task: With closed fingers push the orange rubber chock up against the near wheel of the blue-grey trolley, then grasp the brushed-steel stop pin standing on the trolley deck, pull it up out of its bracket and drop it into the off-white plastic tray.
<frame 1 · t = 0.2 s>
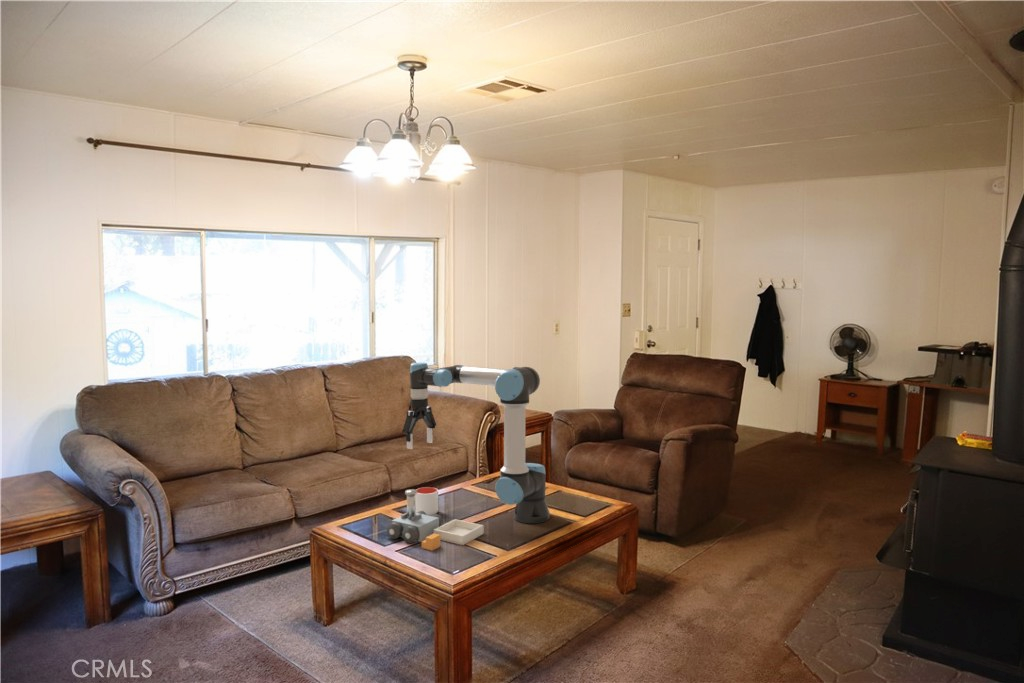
hand: (419, 445, 298), 28 cm above the table, fingers open, 13 cm apart
chock: (431, 547, 254), on the table
trolley: (415, 533, 268), on the table
pin: (411, 518, 268), point 6 cm above the table, touching trolley
cup: (426, 513, 293), on the table
tray: (458, 535, 265), on the table
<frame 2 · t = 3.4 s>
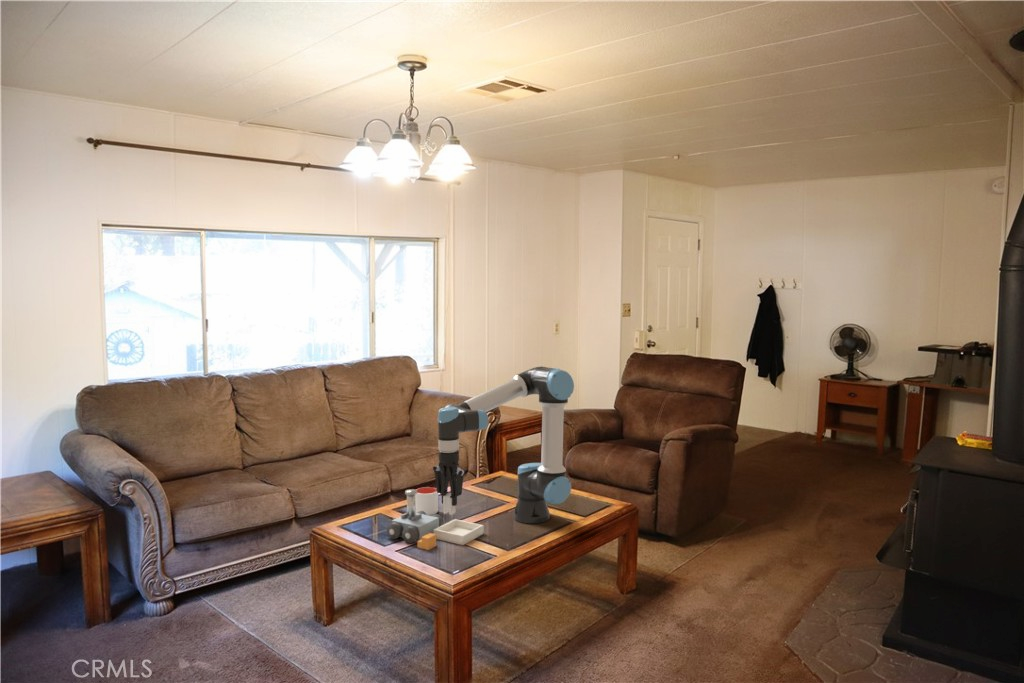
hand: (449, 513, 249), 14 cm above the table, fingers open, 2 cm apart
chock: (426, 546, 255), on the table
everything else where it was.
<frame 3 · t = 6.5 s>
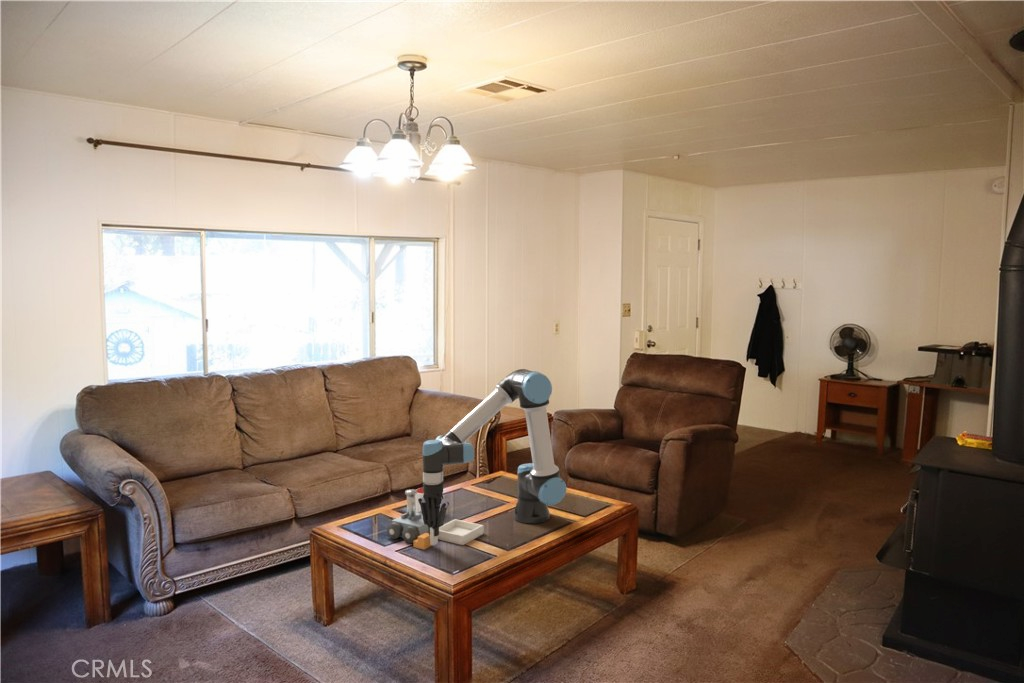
hand: (433, 543, 253), 1 cm above the table, fingers closed
chock: (423, 546, 255), on the table
everything else where it was.
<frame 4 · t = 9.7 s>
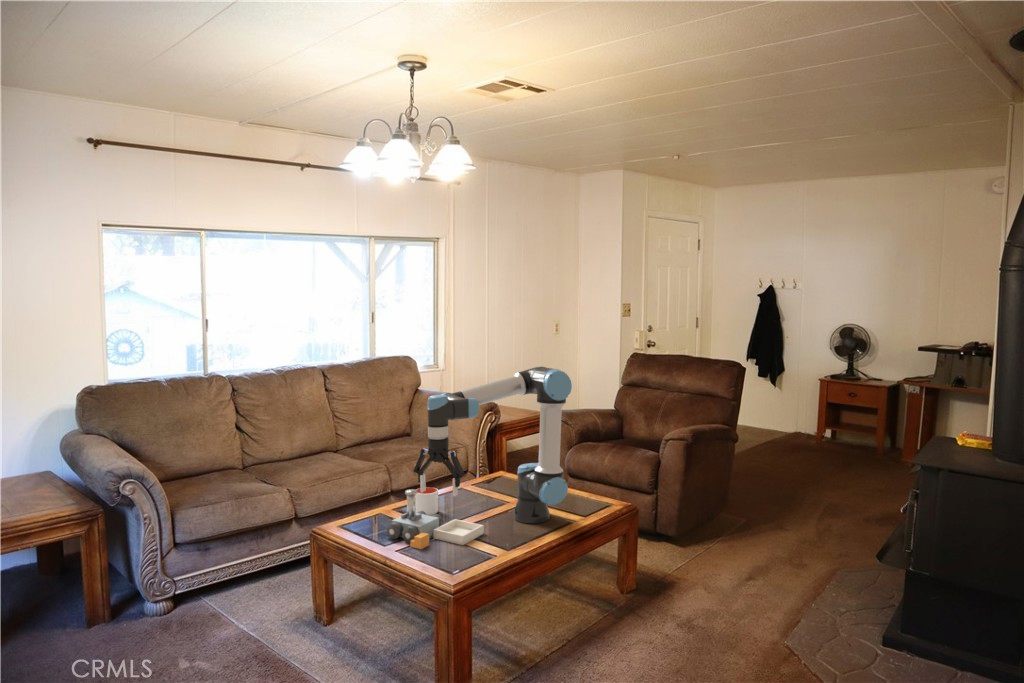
hand: (439, 493, 251), 21 cm above the table, fingers open, 13 cm apart
chock: (419, 546, 255), on the table
everything else where it was.
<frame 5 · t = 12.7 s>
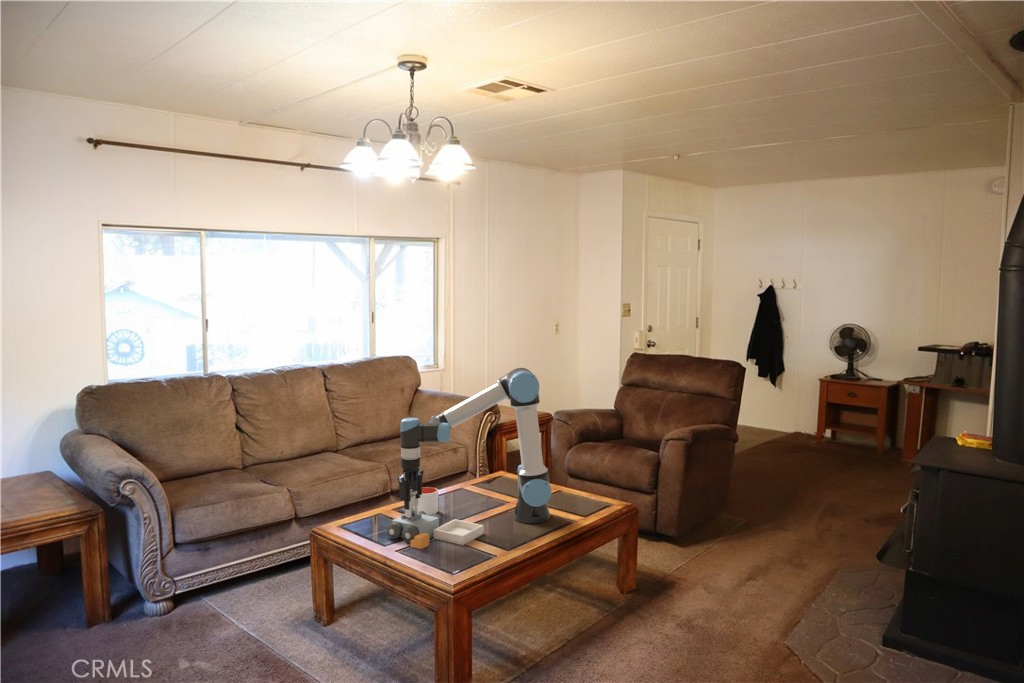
hand: (411, 515, 268), 7 cm above the table, fingers closed on pin, 3 cm apart
pin: (411, 518, 268), point 6 cm above the table, touching gripper, trolley
everything else where it was.
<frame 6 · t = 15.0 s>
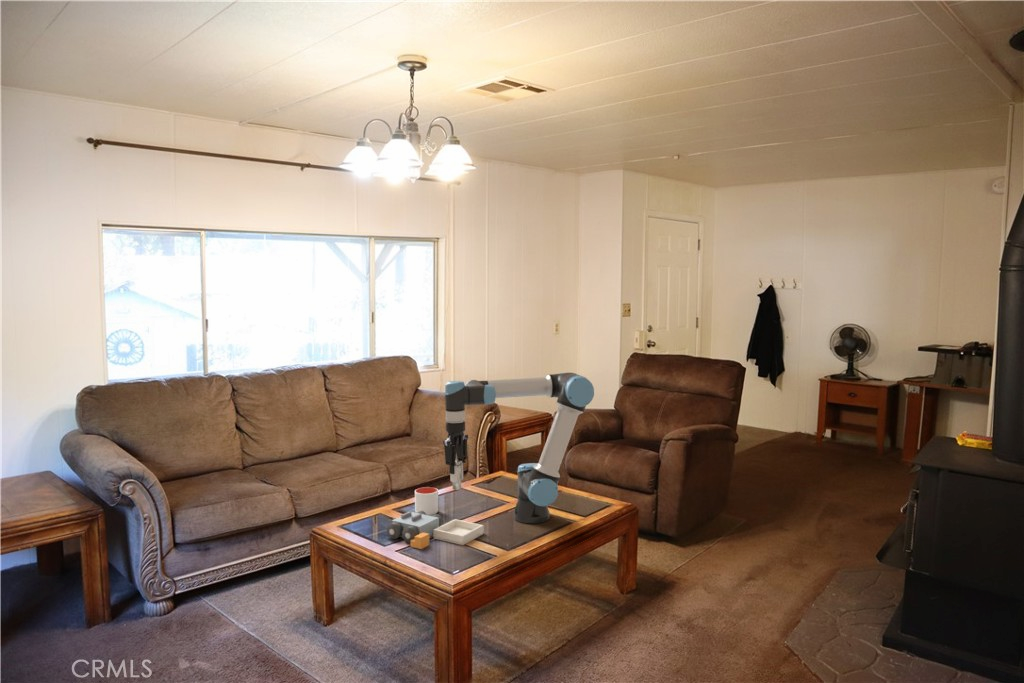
hand: (456, 480, 264), 22 cm above the table, fingers closed on pin, 3 cm apart
pin: (456, 488, 264), point 19 cm above the table, touching gripper
everything else where it was.
when the fingers open (4 cm above the table, at t = 17.5 s): pin stays where it is, resting on tray.
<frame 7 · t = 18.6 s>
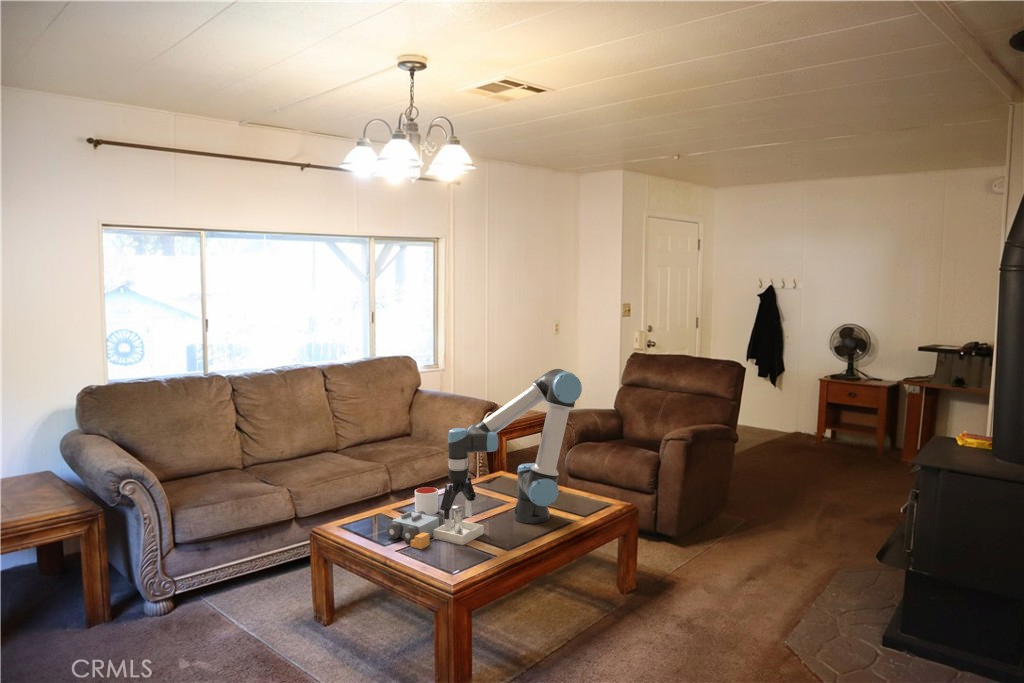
hand: (458, 521, 265), 6 cm above the table, fingers open, 13 cm apart
pin: (458, 533, 265), point 1 cm above the table, touching tray
everything else where it was.
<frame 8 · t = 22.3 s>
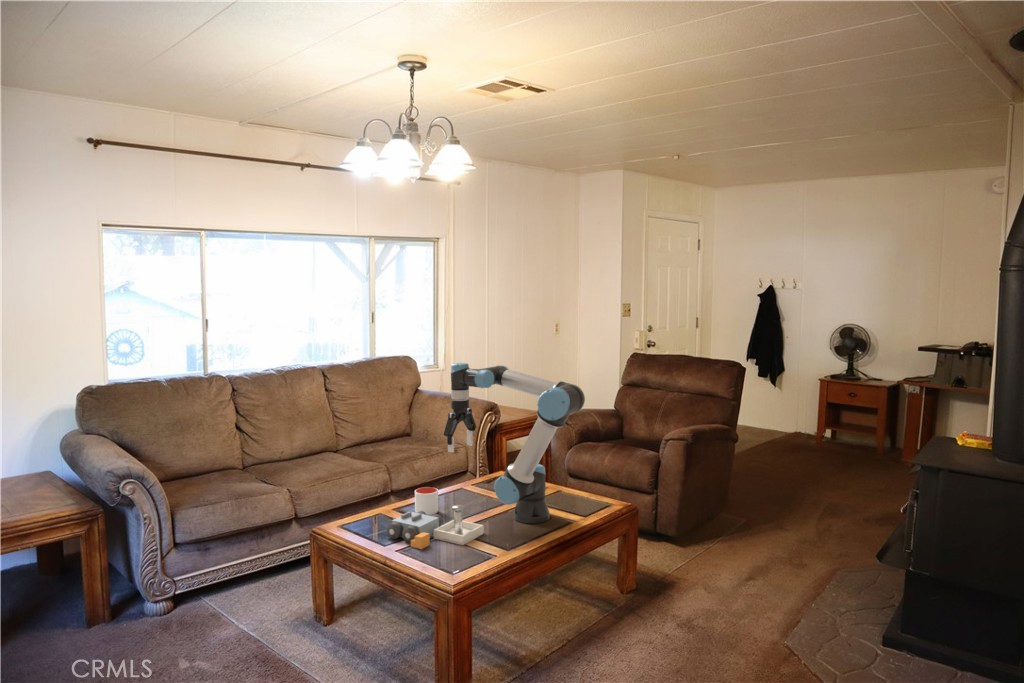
hand: (460, 448, 288), 29 cm above the table, fingers open, 13 cm apart
nothing on the table moved.
at the end: chock 1.1 cm from the target spot on the table beside the trolley, on the table; pin inside the target area on the tray (0.2 cm from its centre), point 0.8 cm above the tray's base; the gripper is holding nothing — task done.
